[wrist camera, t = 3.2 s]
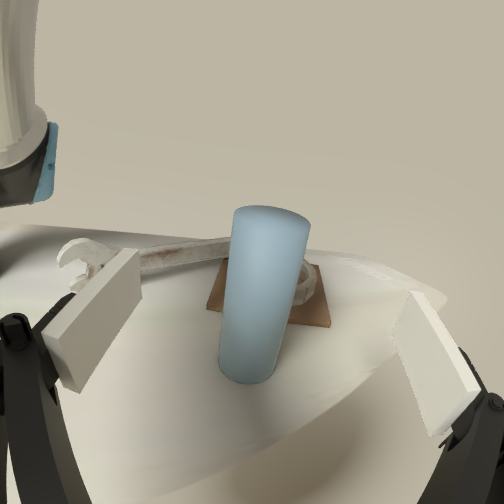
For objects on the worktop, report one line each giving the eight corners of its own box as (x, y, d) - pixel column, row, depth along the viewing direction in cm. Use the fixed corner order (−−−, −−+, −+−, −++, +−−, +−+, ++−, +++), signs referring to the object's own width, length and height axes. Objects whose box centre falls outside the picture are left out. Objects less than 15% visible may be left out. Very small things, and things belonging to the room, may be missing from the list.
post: (213, 378, 27) (228, 225, 20) (223, 339, 33) (239, 201, 26) (273, 387, 27) (314, 239, 20) (275, 347, 33) (307, 212, 26)
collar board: (206, 309, 37) (207, 287, 36) (226, 254, 52) (228, 237, 50) (329, 327, 37) (336, 307, 35) (317, 269, 51) (321, 252, 50)
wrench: (241, 269, 52) (63, 305, 31) (234, 265, 53) (61, 297, 33) (249, 225, 49) (56, 245, 29) (242, 221, 50) (55, 240, 30)
